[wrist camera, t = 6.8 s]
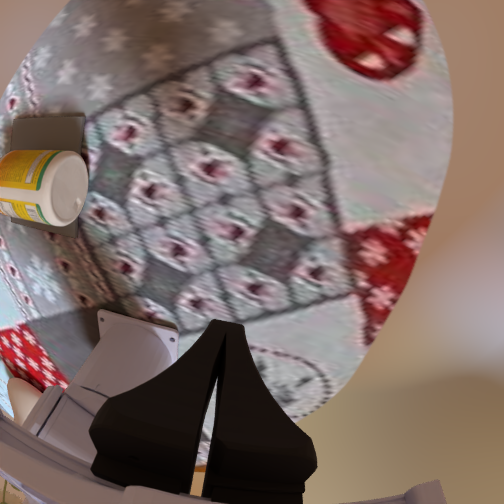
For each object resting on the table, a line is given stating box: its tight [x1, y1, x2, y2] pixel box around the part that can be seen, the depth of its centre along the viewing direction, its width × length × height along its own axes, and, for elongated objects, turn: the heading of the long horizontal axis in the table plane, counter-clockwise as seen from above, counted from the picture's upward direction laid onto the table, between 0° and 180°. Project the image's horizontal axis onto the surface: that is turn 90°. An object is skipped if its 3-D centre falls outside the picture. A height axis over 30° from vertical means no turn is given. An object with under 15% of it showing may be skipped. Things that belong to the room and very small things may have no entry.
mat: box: [11, 117, 85, 238], centre depth 19 cm, size 10×9×1 cm
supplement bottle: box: [0, 150, 88, 226], centre depth 17 cm, size 5×5×10 cm
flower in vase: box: [0, 378, 43, 504], centre depth 21 cm, size 13×11×25 cm
